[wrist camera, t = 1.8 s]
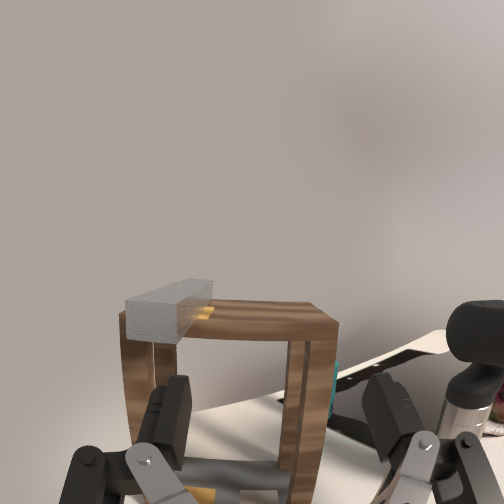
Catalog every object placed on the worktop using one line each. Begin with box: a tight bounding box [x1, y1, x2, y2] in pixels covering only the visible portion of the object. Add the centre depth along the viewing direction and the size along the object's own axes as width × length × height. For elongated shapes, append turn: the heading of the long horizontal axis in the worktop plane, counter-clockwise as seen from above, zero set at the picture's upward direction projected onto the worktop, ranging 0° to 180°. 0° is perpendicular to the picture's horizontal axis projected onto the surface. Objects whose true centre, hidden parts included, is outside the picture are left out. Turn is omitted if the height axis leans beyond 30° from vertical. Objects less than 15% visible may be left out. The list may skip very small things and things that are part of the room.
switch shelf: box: [119, 299, 339, 504], centre depth 38 cm, size 16×24×32 cm, turn 91°
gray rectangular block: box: [125, 279, 213, 344], centre depth 33 cm, size 24×4×3 cm, turn 1°
